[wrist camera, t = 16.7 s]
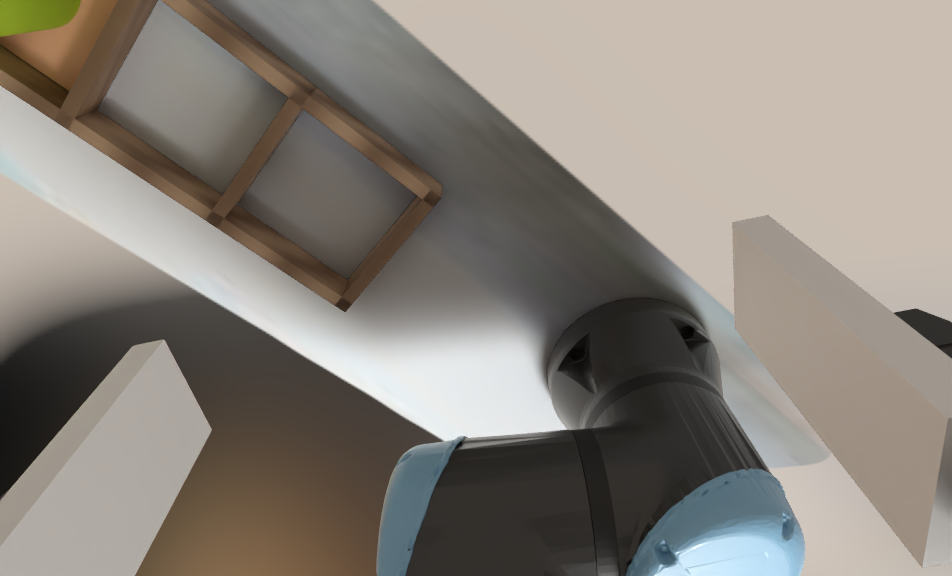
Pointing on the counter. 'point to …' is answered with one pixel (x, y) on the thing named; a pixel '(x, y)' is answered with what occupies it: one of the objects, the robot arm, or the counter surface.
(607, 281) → the counter surface
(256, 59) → the pocket rack
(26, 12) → the soap dispenser
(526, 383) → the counter surface
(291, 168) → the counter surface
